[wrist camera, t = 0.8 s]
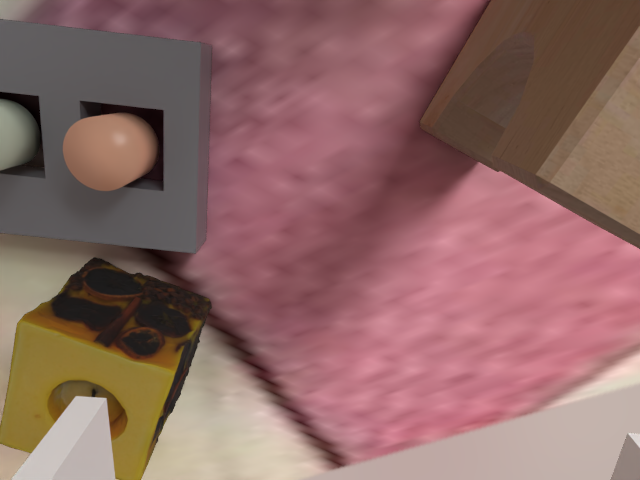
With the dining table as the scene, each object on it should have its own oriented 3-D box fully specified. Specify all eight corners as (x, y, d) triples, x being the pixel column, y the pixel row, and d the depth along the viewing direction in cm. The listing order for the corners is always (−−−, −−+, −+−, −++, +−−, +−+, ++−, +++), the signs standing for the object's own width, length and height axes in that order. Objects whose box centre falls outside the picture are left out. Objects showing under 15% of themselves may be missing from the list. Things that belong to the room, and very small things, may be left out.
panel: (-179, 0, 31) (-230, -8, 28) (212, 45, 32) (200, 42, 29) (-135, 203, 36) (-175, 214, 33) (206, 240, 36) (195, 253, 33)
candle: (93, 253, 37) (13, 313, 27) (216, 296, 38) (179, 368, 29) (68, 357, 40) (-12, 443, 31) (181, 394, 41) (138, 488, 32)
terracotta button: (92, 108, 31) (60, 112, 27) (159, 116, 31) (136, 121, 27) (95, 174, 32) (65, 186, 29) (159, 181, 32) (137, 194, 29)
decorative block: (479, 163, 34) (669, 268, 15) (413, 124, 33) (527, 183, 14) (577, 17, 31) (975, -80, 12) (507, -31, 30) (815, -216, 11)
